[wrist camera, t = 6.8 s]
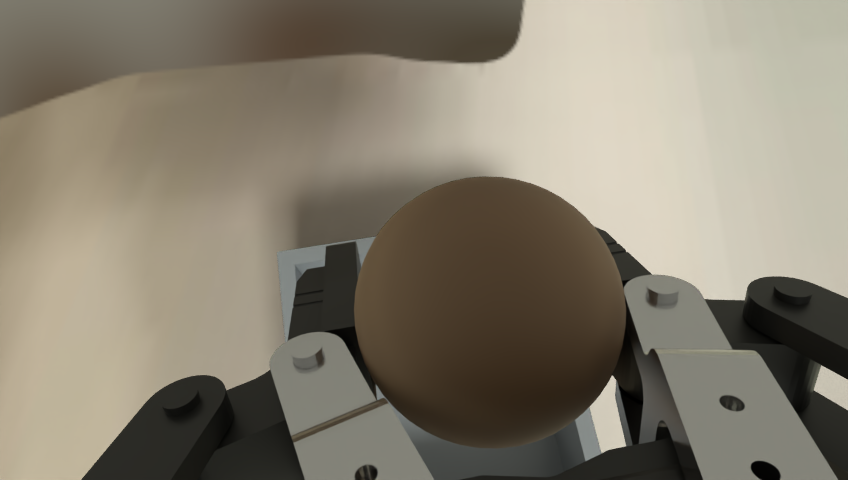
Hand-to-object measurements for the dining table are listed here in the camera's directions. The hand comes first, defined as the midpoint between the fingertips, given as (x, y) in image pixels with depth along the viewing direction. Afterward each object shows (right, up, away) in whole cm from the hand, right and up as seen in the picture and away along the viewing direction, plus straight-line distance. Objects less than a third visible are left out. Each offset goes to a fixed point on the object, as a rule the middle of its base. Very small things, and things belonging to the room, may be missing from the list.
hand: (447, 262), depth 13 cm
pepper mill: (0, -3, +3) cm, 5 cm away
